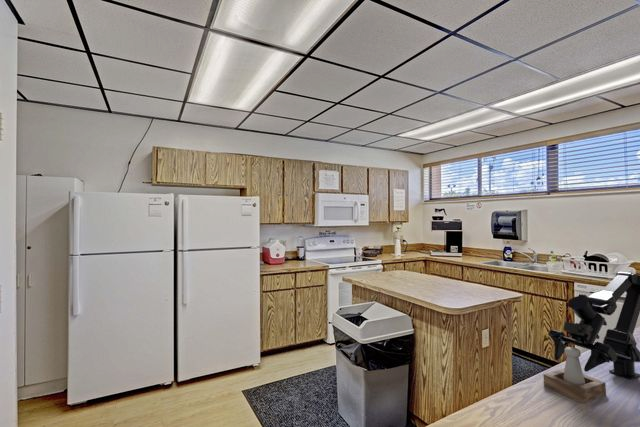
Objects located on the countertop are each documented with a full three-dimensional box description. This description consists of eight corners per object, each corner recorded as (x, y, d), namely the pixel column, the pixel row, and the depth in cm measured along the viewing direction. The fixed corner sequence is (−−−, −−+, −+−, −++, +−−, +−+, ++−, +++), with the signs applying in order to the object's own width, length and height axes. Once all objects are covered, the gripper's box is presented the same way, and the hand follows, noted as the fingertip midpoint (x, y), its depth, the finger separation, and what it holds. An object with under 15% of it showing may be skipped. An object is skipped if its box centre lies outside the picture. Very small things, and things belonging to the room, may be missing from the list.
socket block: (567, 379, 117) (566, 367, 117) (606, 395, 106) (605, 382, 106) (544, 385, 113) (543, 374, 113) (582, 403, 101) (581, 390, 102)
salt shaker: (589, 392, 106) (587, 351, 106) (570, 391, 107) (568, 351, 107) (578, 383, 112) (576, 345, 112) (560, 382, 113) (558, 344, 113)
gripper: (549, 306, 120) (530, 341, 116) (609, 320, 103) (589, 361, 98) (565, 325, 123) (546, 360, 118) (626, 341, 105) (607, 382, 101)
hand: (569, 365), depth 109 cm, fingers open, 9 cm apart
